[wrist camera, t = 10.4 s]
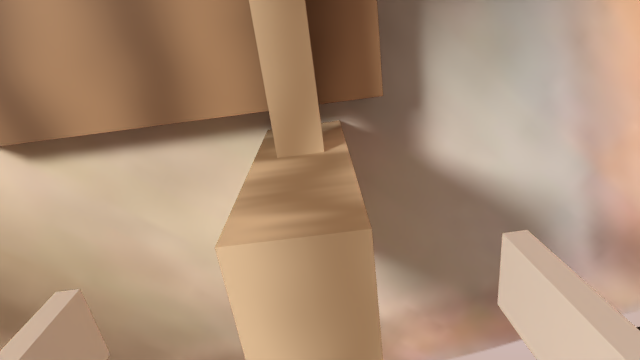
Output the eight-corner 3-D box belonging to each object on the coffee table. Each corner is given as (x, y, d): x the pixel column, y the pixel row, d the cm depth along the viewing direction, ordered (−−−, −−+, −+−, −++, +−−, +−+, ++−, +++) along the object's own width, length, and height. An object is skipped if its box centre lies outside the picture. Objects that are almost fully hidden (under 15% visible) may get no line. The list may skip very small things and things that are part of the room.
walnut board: (-24, 140, 20) (-69, 155, 18) (-116, -47, 17) (-187, -60, 15) (374, 88, 20) (383, 96, 17) (360, -118, 16) (368, -144, 14)
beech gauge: (285, 224, 23) (259, 410, 12) (228, -85, 17) (62, -308, 6) (350, 216, 23) (386, 396, 12) (315, -98, 17) (322, -353, 6)
